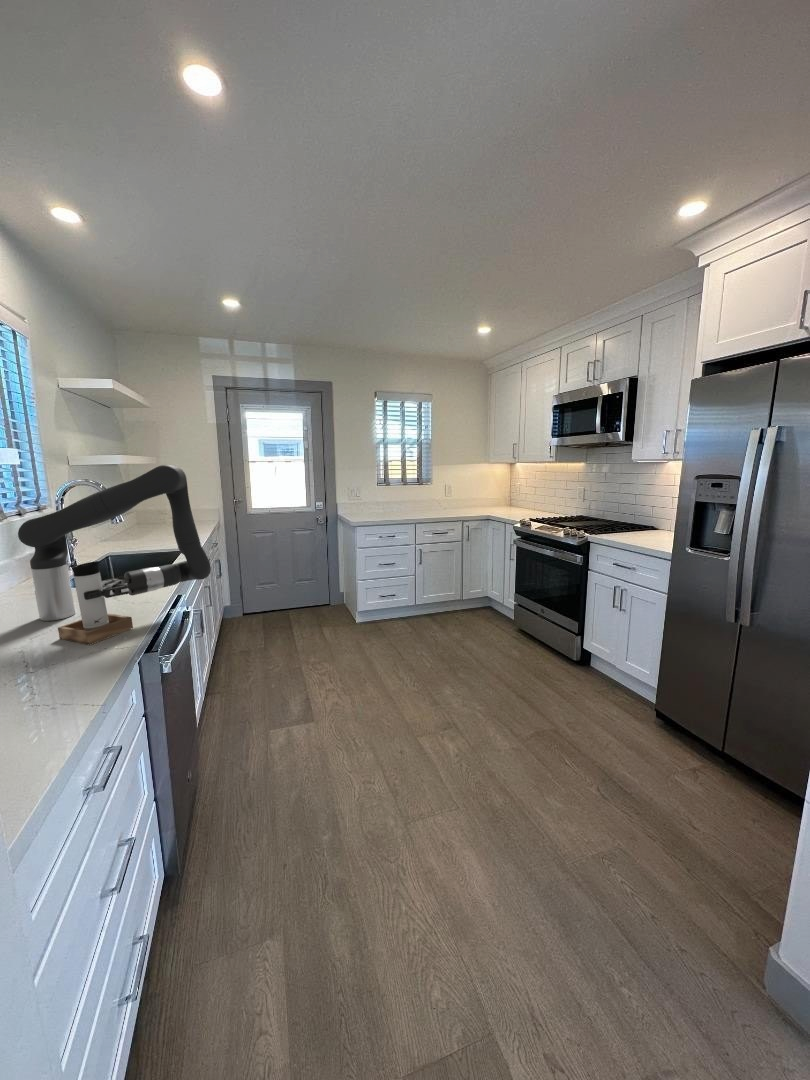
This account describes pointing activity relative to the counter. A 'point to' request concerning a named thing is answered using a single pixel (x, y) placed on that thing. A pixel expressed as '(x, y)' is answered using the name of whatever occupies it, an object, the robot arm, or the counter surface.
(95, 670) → the counter surface
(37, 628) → the counter surface
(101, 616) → the travel mug
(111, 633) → the walnut caddy
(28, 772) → the counter surface
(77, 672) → the counter surface
